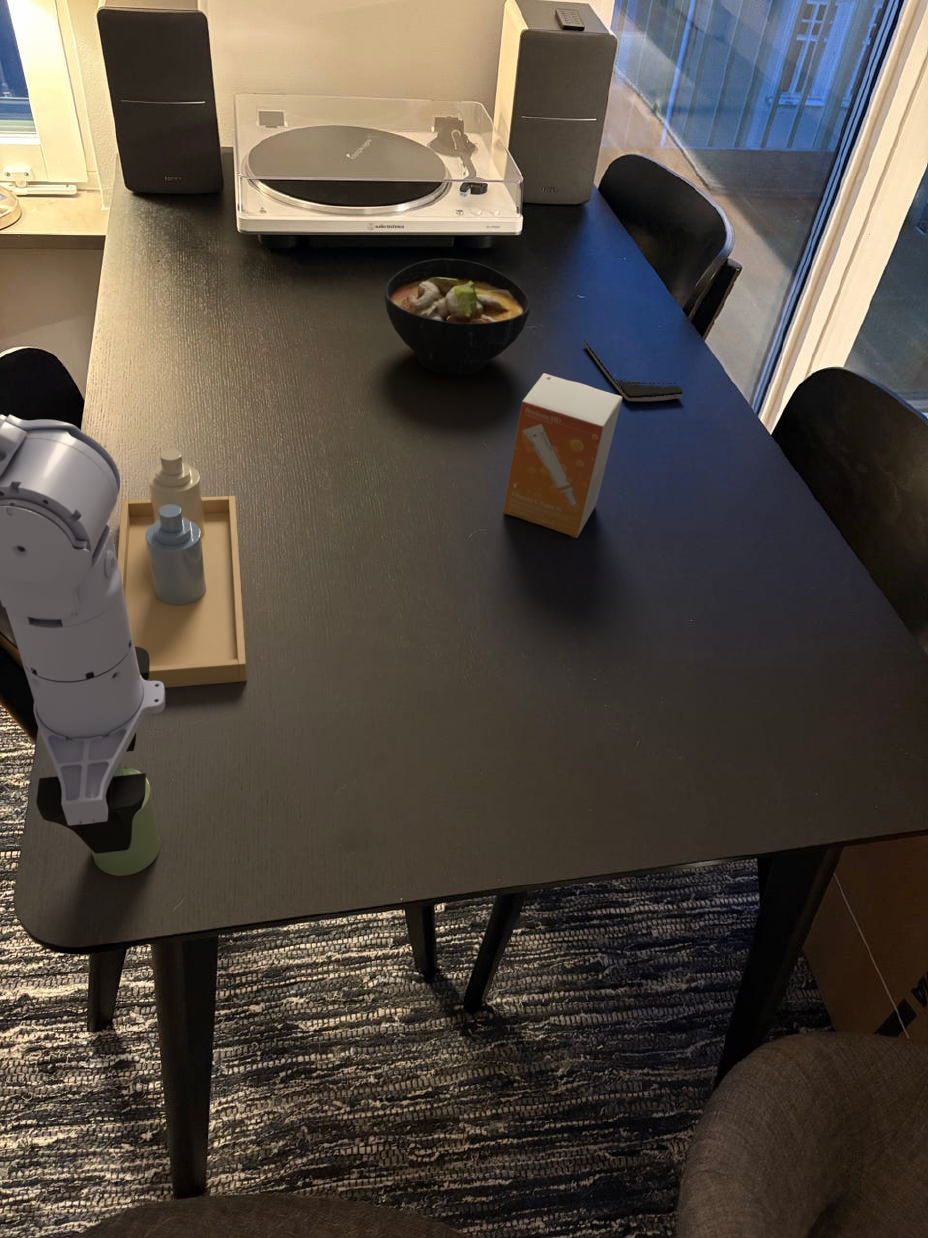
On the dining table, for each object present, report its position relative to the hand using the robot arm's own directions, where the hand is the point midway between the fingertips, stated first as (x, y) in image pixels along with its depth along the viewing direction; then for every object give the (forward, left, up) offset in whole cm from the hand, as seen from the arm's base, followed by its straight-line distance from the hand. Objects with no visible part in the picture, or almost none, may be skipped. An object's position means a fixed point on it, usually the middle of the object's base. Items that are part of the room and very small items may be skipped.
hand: (115, 795), depth 61 cm
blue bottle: (+3, +26, -5) cm, 26 cm away
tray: (+3, +26, -6) cm, 26 cm away
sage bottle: (0, 0, -6) cm, 6 cm away
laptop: (+57, +62, -6) cm, 84 cm away
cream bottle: (+3, +34, -5) cm, 34 cm away
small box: (+39, +35, -6) cm, 53 cm away
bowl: (+35, +66, -6) cm, 75 cm away
